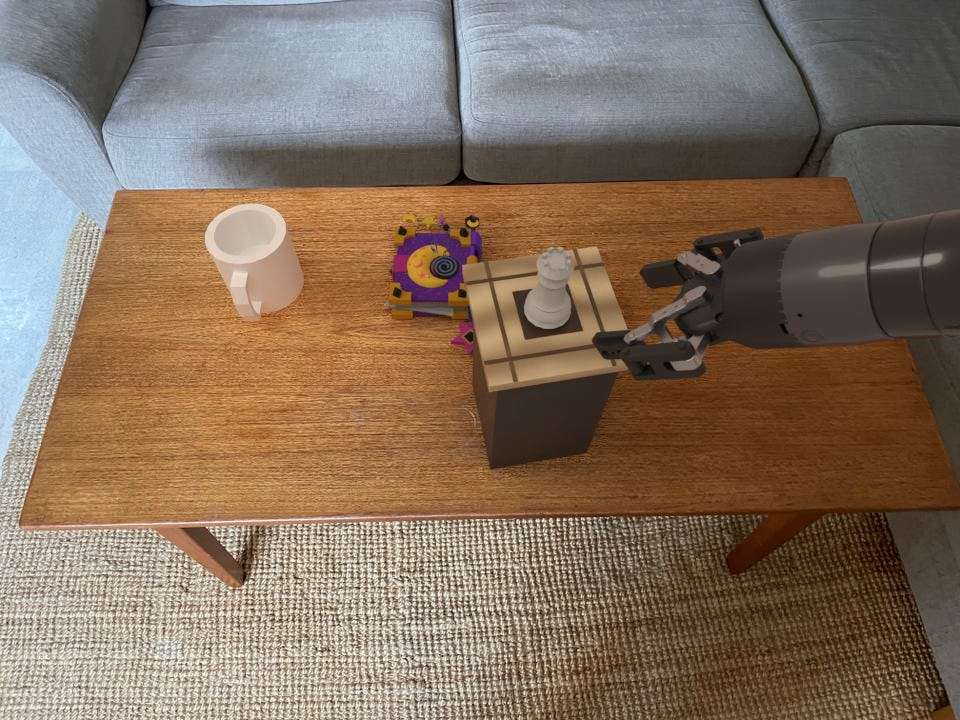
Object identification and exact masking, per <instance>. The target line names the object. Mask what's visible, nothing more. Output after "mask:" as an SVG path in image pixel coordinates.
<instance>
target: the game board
mask: <svg viewBox="0 0 960 720" xmlns="http://www.w3.org/2000/svg"><path fill="white" fill-rule="evenodd" d="M563 252H564V253H566V252H569V253H570V255H571V259H572V260H573V262H574V270H573V273H572V274H571V275H570V276H569V281H568V283H567V284H566V292H567V293H568V295H569V297H570V300H571V314H570V317H569V319H568V321H566V322H565V323H564V324H563V325H562V326H559V327H557V328H554V329H544V328H541V327H538V326H535V325H534V324H533V323H531V322H530V321H529V320H528V319H527V317H526V315H525V313H524V305H525V300H526V298H527V295H528V293H529V292H530V291H531V290H532V289H533V288H534V287H536V286H537V284H538V282H539V280H538V275H537V274H538V269H537V264H536V262H537V260H538V257H539V256H541V255H542V254H543V253H537V254H532V255H524V256H516V257H509V258H503V259H496V260H495V259H494V260H483V261H482V262H481V261H479V262H478V263H473V264H466V265H462V274H463V278H464V283H465V287H466V291H467V296H468V300H469V305H470V309H471V314H472V318H473V323H474V327H475V332H476V336H477V341H478V345H479V350H480V354H481V359H482V363H483V368H484V372H485V376H486V381H487V385H488V390H489V392H494V391H500V390H506V389H512V388H519V387H525V386H531V385H537V384H543V383H550V382H556V381H562V380H568V379H574V378H581V377H587V376H593V375H599V374H605V373H612V372H618V371H619V372H622V371H629V369H628V368H627V366H626V365H625V363H624V362H623V361H622V360H621V359H616V360H613V359H612V360H606V359H604V358H603V357H602V356H601V354H600V353H599V352H598V350H597V349H596V347H595V345H594V344H593V343H592V338H593V337H594V335H595V334H596V333H597V332H607V331H620V330H629V329H628V327H627V326H628V325H627V324H626V321H625V318H624V315H623V313H622V309H621V308H620V307H621V306H620V307H619V305H618V304H619V302H618V299H617V297H616V293H615V291H614V288H613V285H612V283H611V281H610V278H609V275H608V271H607V270H606V267H605V263H604V262H603V258H602V255H601V253H600V250H599V247H598V246H589V247H588V246H587V247H583V248H581V247H580V248H572V249H568V250H563ZM614 293H615V294H614ZM620 309H621V310H620Z"/></svg>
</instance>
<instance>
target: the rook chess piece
mask: <svg viewBox="0 0 960 720" xmlns="http://www.w3.org/2000/svg"><path fill="white" fill-rule="evenodd" d="M563 251H564V247H561V246H558V247H557V249H554V247H553V246H550V247H547V248H546V251H543V252H542V253H541V254H542V255H541V256H539V257H538V260H537V262H536V264H537V269H538V274H537V275H538V280H539V282H538V284H537V286H536V287H534V288H533V289H532V290H531V291H530V292H529V293H528V295H527V298H526V300H525V305H524V313H525V315H526V317H527V319H528V320H529V321H530V322H531V323H533V324H534V325H535V326H538V327H541V328H544V329H554V328H557V327H559V326H562V325H563V324H564V323H565V322H566V321H568V319H569V317H570V314H571V300H570V297H569V295H568V293H567V292H566V284H567V283H568V281H569V276H570V275H571V274H572V273H573V270H574V262H573V260H572V259H571V255H570V253H569V252H566V253H564V252H563Z"/></svg>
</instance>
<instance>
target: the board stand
mask: <svg viewBox="0 0 960 720" xmlns="http://www.w3.org/2000/svg"><path fill="white" fill-rule="evenodd" d="M619 372H620V371H618V372H612V373H605V374H599V375H593V376H587V377H581V378H574V379H568V380H562V381H556V382H550V383H543V384H537V385H531V386H525V387H519V388H512V389H506V390H500V391H494V392H489V390H488V385H487V381H486V376H485V372H484V368H483V363H482V359H481V354H480V350H479V345H478V341H477V336H476V332H475V327H474V323H473V352H472V388H473V393H474V398H475V402H476V408H477V412H478V416H479V421H480V426H481V431H482V436H483V442H484V445H485V449H486V455H487V459H488V460H487V461H488V464H489V469H490V470H497V469H503V468H507V467H508V468H509V467H513V466H520V465H524V464H530V463H531V464H532V463H537V462H543V461H547V460H554V459H559V458H566V457H572V456H576V455H583V454H586V453H587V452H588V450H589V448H590V445H591V442H592V440H593V438H594V436H595V432H596V430H597V427H598V425H599V423H600V421H601V418H602V415H603V412H604V410H605V408H606V405H607V402H608V400H609V398H610V395H611V393H612V390H613V388H614V385H615V382H616V381H617V377H618V375H619Z"/></svg>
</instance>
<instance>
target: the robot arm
mask: <svg viewBox="0 0 960 720" xmlns="http://www.w3.org/2000/svg"><path fill="white" fill-rule="evenodd" d="M692 246H693V247H694V248H693V249H692V250H688V251H687V250H686V251H684V252H681V253H680V254H679V255H678V256H677V257H676V258H670V259H666V260H665V259H664V260H660V261H656V262H653V263H652V262H651V263H646V264H643V266H642V267H641V269H640V270H639V275H640V277H641V279H642V280H643V281H644V284H646V286H647V287H648V288H649V289H651V290H655V289H664V288H669V287H671V288H672V287H677V286H682V287H681V290H680V292H679V294H678V295H677V296H676V297H675V298H674V299H673V301H672V302H671V303H670V304H668V305H666V306H664V307H662V308H660V309H659V310H656V311H654V312H653V313H652V314H651V315H650V317H649V320H648V322H646V323H643V324H642V325H640V326H638V327H636V328H634V329H633V330H630V329H628V330H620V331H607V332H597V333H596V334H595V335H594V337H593V338H592V343H593V344H594V345H595V347H596V349H597V350H598V352H599V353H600V354H601V356H602V357H603V358H604V359H606V360H612V359H613V360H616V359H621V360H622V361H623V362H624V363H625V365H626V366H627V368H628V369H629V370H628V371H629V373H631V376H632V377H633V379H634V380H635V381H637V382H641V381H642V382H643V381H660V380H679V379H680V380H681V379H697V378H700V377H702V376H704V375H705V374H706V372H707V370H708V369H707V366H706V365H705V363H704V361H703V359H704V356H705V355H706V353H707V350H708V348H710V347H714V346H716V345H719V344H722V343H727V342H733V343H735V344H736V343H737V344H739V345H742V346H743V347H746V348H748V349H753V350H776V349H801V348H803V349H804V348H824V347H848V346H849V347H850V346H861V345H867V344H873V343H879V342H886V341H896V340H919V339H938V338H944V339H945V338H960V208H955V209H948V210H942V211H938V212H933V213H926V214H921V215H916V216H915V215H914V216H909V217H904V218H897V219H893V220H887V221H877V222H862V223H861V222H858V223H847V224H840V225H839V224H838V225H835V226H829V227H824V228H818V229H813V230H807V231H801V232H796V233H790V234H785V235H779V236H774V237H769V238H766V237H765V235H764V233H763V231H762V229H761V228H760V227H752V228H745V229H739V230H731V231H728V232H726V231H725V232H721V233H714V234H709V235H703V236H700V237H697V238H696V239H695V240H694V241H693V242H692ZM714 248H717V249H719V250H720V251H721V253H717V252H716V251H715V249H714ZM672 320H673V322H674V323H675V325H676V327H677V328H678V330H680V332H682V333H683V334H682V335H681V336H674V335H673V334H672V332H671V330H670V329H669V328H668V326H667V323H668V322H670V321H672ZM654 335H656V336H657V337H658V338H659V339H660V340H659V341H657V342H655V343H651V344H650V343H649V344H647V343H646V341H645V340H646V339H648V338H650V337H652V336H654Z"/></svg>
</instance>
